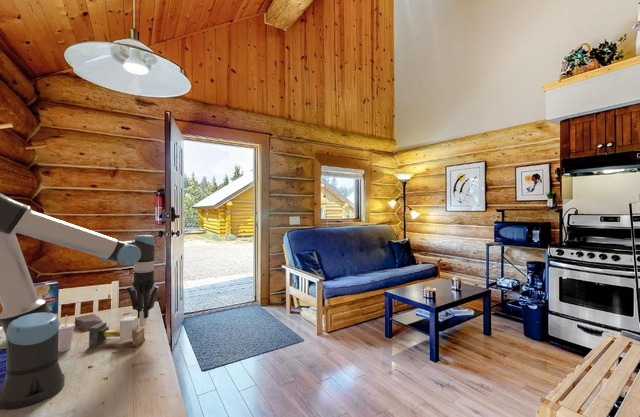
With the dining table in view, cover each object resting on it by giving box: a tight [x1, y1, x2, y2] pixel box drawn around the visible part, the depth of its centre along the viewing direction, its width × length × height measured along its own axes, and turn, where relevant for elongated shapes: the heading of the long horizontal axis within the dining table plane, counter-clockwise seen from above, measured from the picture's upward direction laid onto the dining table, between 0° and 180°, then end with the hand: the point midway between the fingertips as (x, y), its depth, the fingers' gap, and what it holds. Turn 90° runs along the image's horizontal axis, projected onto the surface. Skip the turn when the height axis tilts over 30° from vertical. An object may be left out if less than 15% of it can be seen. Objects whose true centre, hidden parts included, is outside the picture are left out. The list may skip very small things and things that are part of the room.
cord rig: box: [88, 322, 146, 349], centre depth 126 cm, size 20×7×8 cm, turn 93°
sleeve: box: [119, 315, 140, 339], centre depth 126 cm, size 5×5×8 cm
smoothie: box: [58, 314, 76, 353], centre depth 120 cm, size 6×6×14 cm
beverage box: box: [33, 280, 60, 317], centre depth 138 cm, size 7×11×22 cm, turn 146°
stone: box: [74, 313, 103, 332], centre depth 144 cm, size 9×12×5 cm
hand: (142, 325), depth 126 cm, fingers closed
